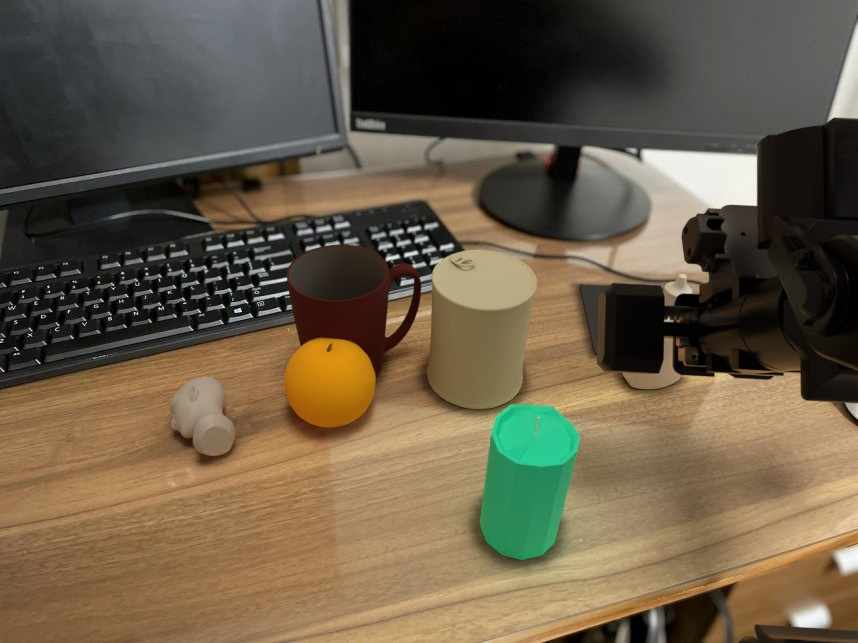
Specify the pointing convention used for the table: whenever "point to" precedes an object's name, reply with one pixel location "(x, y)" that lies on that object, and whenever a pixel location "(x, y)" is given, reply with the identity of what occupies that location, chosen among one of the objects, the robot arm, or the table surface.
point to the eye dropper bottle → (666, 371)
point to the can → (479, 327)
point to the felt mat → (592, 309)
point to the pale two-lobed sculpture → (203, 416)
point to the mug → (348, 298)
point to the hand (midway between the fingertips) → (689, 343)
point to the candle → (527, 479)
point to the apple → (329, 382)
